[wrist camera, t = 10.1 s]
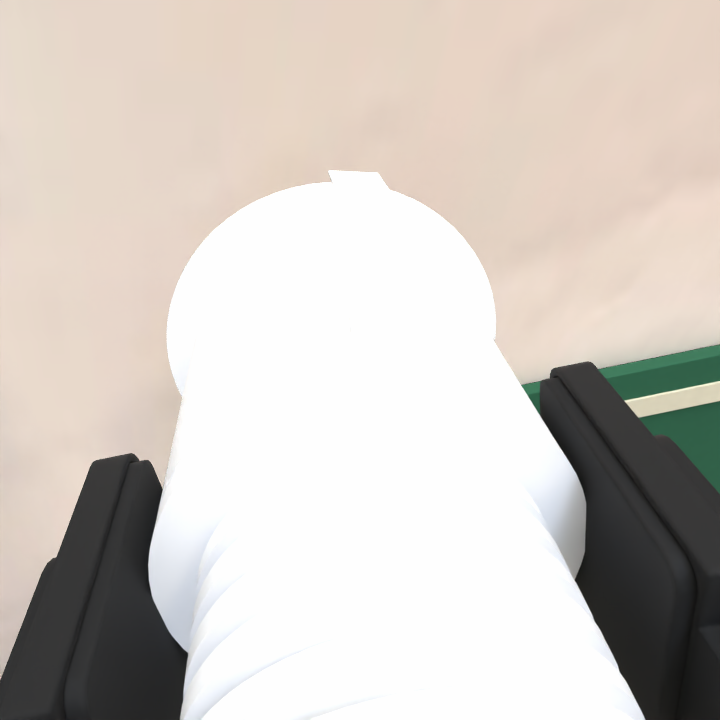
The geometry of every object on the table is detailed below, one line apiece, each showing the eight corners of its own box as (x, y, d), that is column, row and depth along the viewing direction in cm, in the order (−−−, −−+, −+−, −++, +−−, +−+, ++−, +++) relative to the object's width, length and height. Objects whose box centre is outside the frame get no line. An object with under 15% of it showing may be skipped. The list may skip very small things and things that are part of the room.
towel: (305, 658, 28) (305, 673, 27) (233, 443, 22) (232, 456, 21) (707, 572, 28) (716, 585, 28) (748, 338, 22) (761, 347, 22)
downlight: (460, 475, 17) (658, 995, 8) (181, 480, 16) (73, 1078, 7) (522, 161, 13) (1038, 533, 4) (155, 142, 12) (-158, 574, 3)
